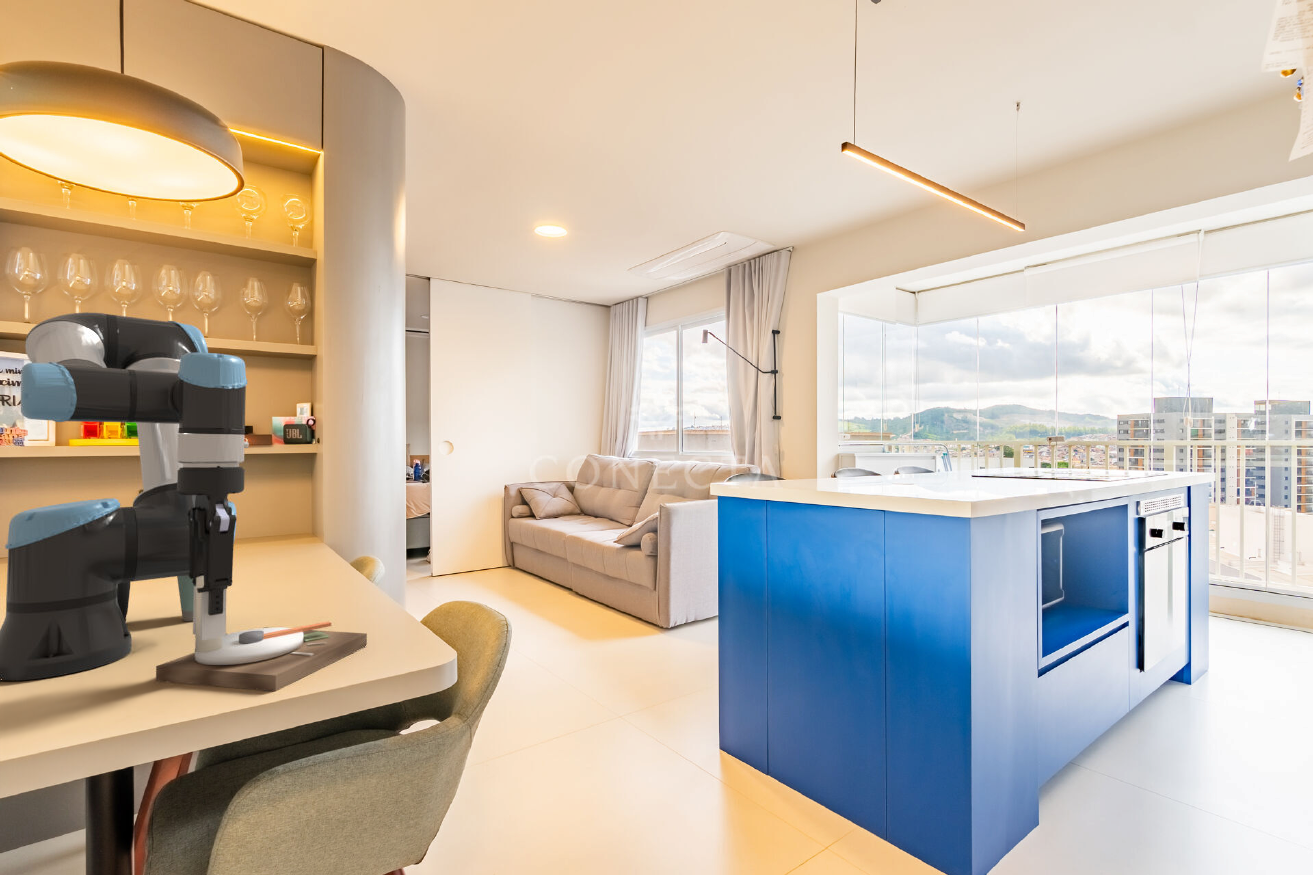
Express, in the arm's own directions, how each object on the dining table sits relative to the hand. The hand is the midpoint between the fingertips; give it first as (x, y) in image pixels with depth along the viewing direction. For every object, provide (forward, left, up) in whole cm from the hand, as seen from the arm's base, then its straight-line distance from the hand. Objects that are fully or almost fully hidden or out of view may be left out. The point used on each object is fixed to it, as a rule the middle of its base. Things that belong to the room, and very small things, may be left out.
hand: (209, 634), depth 84 cm
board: (+4, +6, -6) cm, 9 cm away
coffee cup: (-27, +24, -6) cm, 37 cm away
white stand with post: (+4, +6, -3) cm, 8 cm away
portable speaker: (-39, +15, -6) cm, 43 cm away
